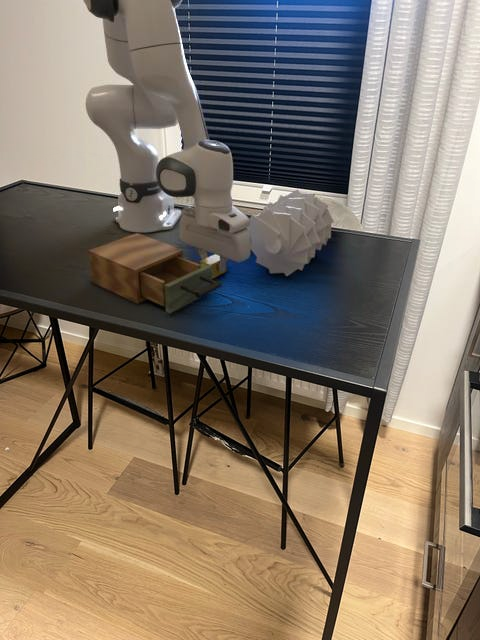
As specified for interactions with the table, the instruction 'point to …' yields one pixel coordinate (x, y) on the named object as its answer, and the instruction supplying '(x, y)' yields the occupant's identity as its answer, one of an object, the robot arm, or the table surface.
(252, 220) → the spiral staircase
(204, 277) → the drawer
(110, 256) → the cabinet
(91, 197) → the table surface
